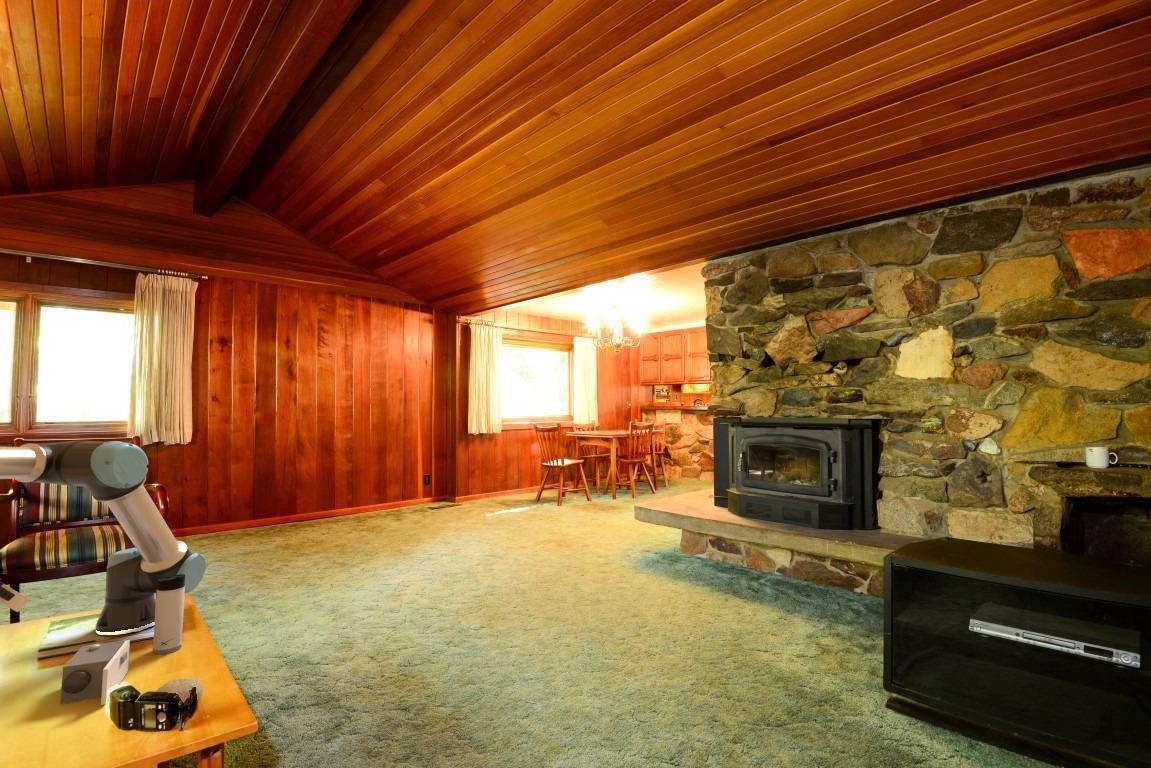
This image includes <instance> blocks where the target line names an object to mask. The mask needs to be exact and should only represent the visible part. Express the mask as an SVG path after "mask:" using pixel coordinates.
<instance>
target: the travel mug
mask: <svg viewBox="0 0 1151 768" xmlns="http://www.w3.org/2000/svg"><path fill="white" fill-rule="evenodd" d="M157 586H158V587H157V593H155V594H156V596H155V599H156V609H155V625H154V626H153V627H154V629H153V641H152V642H153V644H152V646H153V647H152V653H153V654H155V655H166V654H170V653H174V652H177V651H178V650H180V649H181V648H182V641H183V626H184V625H183V623H184V609H185V608H184V606H185V574H180V575H173V576H168V577H166V578H163V579H159V580H158V581H157Z"/></svg>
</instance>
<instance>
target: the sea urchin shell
mask: <svg viewBox="0 0 1151 768" xmlns="http://www.w3.org/2000/svg"><path fill="white" fill-rule="evenodd" d="M192 687H196V694H197V701H198V700H199V699H200V697H201V696H202V694H203V684H202V683H201V681H199V680H198V679H197V678H194V677H188V678H187V677H183V678H175V679H172V680H169V681H167V682H166V683H164V684H163V685H161V686H159V687H158V688H157V690H155V692H172V693H176V694H178V695H179V697H180V698H181V700H182V701H185V700H186V699H187V697H188V694H189V690H190V689H191V688H192Z"/></svg>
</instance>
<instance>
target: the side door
mask: <svg viewBox="0 0 1151 768" xmlns="http://www.w3.org/2000/svg"><path fill="white" fill-rule="evenodd" d="M130 640H131V639H127V640H124V643H123V645H122V646H121V647H120V649H119V650H118V651H117V653H116V654H115V655H114V656H113V658H112V659H111V660H110V662H109V663H108V664H107V665H106V667H105V668H104V669H103V682H102V697H100V698H101V699H100V700H101V701H100V705H101V706H102V705H107V703H106V699H107V690H108V689H109V688H111V687H112V686H114V685H116V684H119V683H120V684H121V682H122V681H123V679H124V678H125V676H126V675H127V673H128V672H129V661H130V660H129V659H130V646H131V645H130V644H131V641H130ZM120 684H119V685H120Z"/></svg>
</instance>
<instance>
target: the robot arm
mask: <svg viewBox="0 0 1151 768" xmlns="http://www.w3.org/2000/svg"><path fill="white" fill-rule="evenodd" d="M148 459H149V458H148V456H147V455H146V453H145V451H144V450H143V449H142V448H141V447H140V446H138V445H136V444H135V443H134V444H133V443H130V442H124V441H118V440H116V441H115V440H114V441H113V440H112V441H111V440H110V441H92V440H91V441H88V440H85V441H84V440H75V441H74V440H73V441H72V440H71V441H59V442H49V443H48V442H47V443H24V444H22V445H20V446H0V480H5V479H6V480H8V479H10V480H11V479H12V480H13V479H14V480H15V481H17V482H20V483H38V484H39V483H42V484H49V485H50V484H52V485H59V486H69V487H70V486H71V487H85V488H86V489H87V490H88V492H89V493H90V495H91V496H92V497H93V499H94V500H95V501H97V502H104V503H106V505H107V506H108V508H109V509H110V511H111V512H112V514H113V516H114V517H115V519H116V520H117V522H118V523H119V524H120V526H121V527H122V529H123V530H124V533H126V535H127V537H128V539H130V541H131V543H132V544H133V545H134V547H130V548H126V549H122V550H119V551H116V552H114V553H111V554H110V555H109V556H108V559H107V560H108V561H107V566H106V577H105V579H106V580H105V581H106V582H105V596H104V597H105V599H104V600H105V601H104V605H103V608H102V610H101V612H100V614H99V617H98V619H97V621H96V623H95V629H96V630H97V631H100V632H115V631H121V630H128V629H134V628H139V627H141V626H145V625H147V624H150V623H152V622H155V609H156V596H155V594H156V593H157V587H158V586H157V581H158V580H159V579H163V578H166V577H168V576H173V575H180V574H185V594H188V593H191V592H193V591H194V590H195V589H197V587H199V585H200V584H201V582H202V580H203V578H204V576H205V573H206V569H207V561H206V557H205V556H204V554H202V553H198V552H194V553H193V552H191V550H190V548H189V546H188V545H187V544H186V542H184V541H183V540H177V539H176V537H175V535H174V534H173V533H172V531H171V529H170V527H169V526H168V525H167V523H166V521H165V519H164V518H163V516H162V514H161V512H160V510H159V509H158V508H157V506H156V504H155V503H154V501H153V499H152V497H151V496H150V494H149V493H148V491H147V490H146V487H145V486H144V484H145V482H146V480H147V473H148V471H149V468H148V467H147V466H148V465H149V460H148ZM185 594H184V595H185ZM31 601H32V600H31V599H30V598H29V597H27V596H25V595H23V594H22V593H20V592H18V591H16V590H15V589H14V588H11V587H10V586H8V585H7V584H5V583H4V582H3V580H2V578H1V577H0V604H2V605H4V606H6V607H8V608H9V609H11V610H12V611H15V612H17V613H19V612H20V611H21V610H22V609H23V608H24V607H26V605H27V604H28V603H30V602H31ZM95 629H94V630H95Z"/></svg>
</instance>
